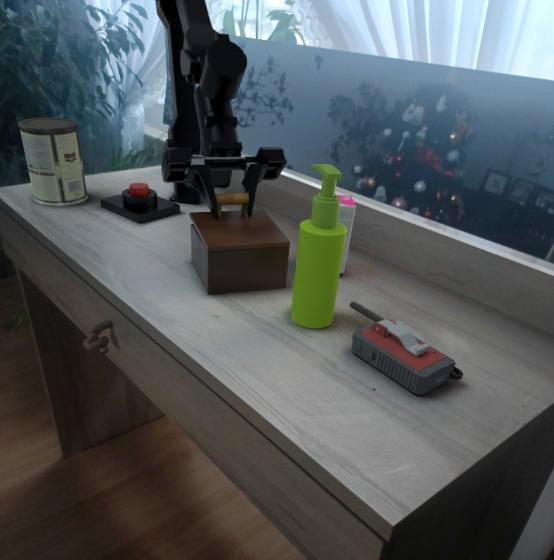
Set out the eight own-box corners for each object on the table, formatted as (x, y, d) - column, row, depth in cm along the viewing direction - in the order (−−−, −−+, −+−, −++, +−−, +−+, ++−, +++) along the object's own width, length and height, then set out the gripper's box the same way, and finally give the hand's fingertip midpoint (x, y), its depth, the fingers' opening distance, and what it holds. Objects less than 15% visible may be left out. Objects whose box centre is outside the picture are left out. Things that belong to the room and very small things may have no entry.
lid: (189, 216, 79) (189, 190, 77) (263, 213, 83) (265, 188, 81) (207, 251, 71) (207, 223, 68) (289, 246, 75) (292, 219, 72)
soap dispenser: (320, 302, 75) (339, 160, 64) (339, 326, 70) (364, 175, 59) (282, 306, 74) (295, 160, 62) (299, 330, 68) (317, 176, 57)
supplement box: (344, 276, 83) (356, 206, 77) (308, 273, 83) (317, 203, 77) (341, 262, 88) (352, 194, 82) (307, 259, 88) (315, 191, 81)
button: (141, 190, 102) (140, 181, 101) (152, 195, 100) (152, 186, 99) (126, 193, 99) (125, 184, 98) (137, 198, 98) (137, 189, 97)
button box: (142, 197, 108) (140, 180, 106) (180, 213, 102) (179, 195, 100) (100, 207, 101) (98, 189, 99) (139, 224, 95) (137, 205, 93)
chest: (191, 263, 83) (190, 223, 79) (262, 258, 87) (265, 219, 83) (207, 295, 75) (207, 252, 71) (285, 287, 79) (289, 246, 75)
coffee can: (48, 188, 108) (35, 114, 100) (96, 193, 108) (86, 120, 99) (23, 203, 100) (6, 124, 91) (74, 209, 99) (62, 130, 91)
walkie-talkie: (471, 379, 62) (354, 309, 74) (482, 349, 60) (359, 282, 72) (425, 404, 57) (309, 325, 70) (435, 372, 55) (313, 296, 67)
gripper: (260, 149, 90) (275, 234, 89) (152, 150, 84) (167, 240, 83) (279, 110, 80) (297, 205, 78) (157, 107, 74) (174, 211, 72)
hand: (233, 217), depth 78 cm, fingers closed on lid, 5 cm apart
